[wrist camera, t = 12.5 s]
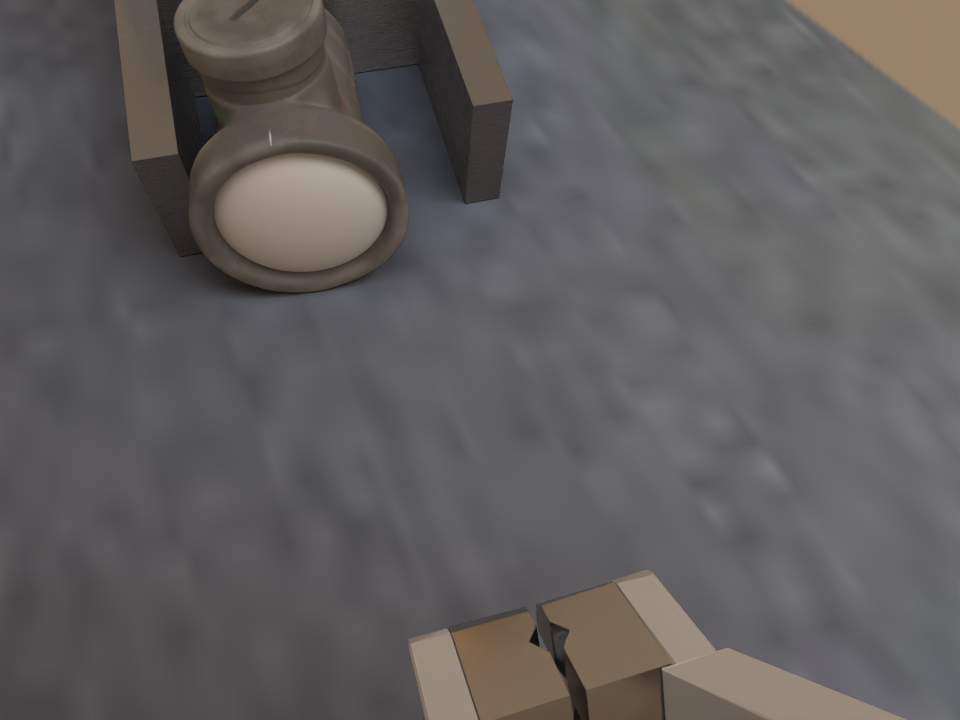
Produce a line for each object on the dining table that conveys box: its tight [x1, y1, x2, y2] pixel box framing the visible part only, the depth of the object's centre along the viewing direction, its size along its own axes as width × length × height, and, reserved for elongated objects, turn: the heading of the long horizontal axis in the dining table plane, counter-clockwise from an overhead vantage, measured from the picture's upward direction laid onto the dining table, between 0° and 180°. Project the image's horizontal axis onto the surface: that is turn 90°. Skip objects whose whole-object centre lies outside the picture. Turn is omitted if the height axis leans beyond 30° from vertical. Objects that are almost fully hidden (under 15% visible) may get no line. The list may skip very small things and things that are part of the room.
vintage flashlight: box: [174, 0, 409, 292], centre depth 30 cm, size 12×8×10 cm
